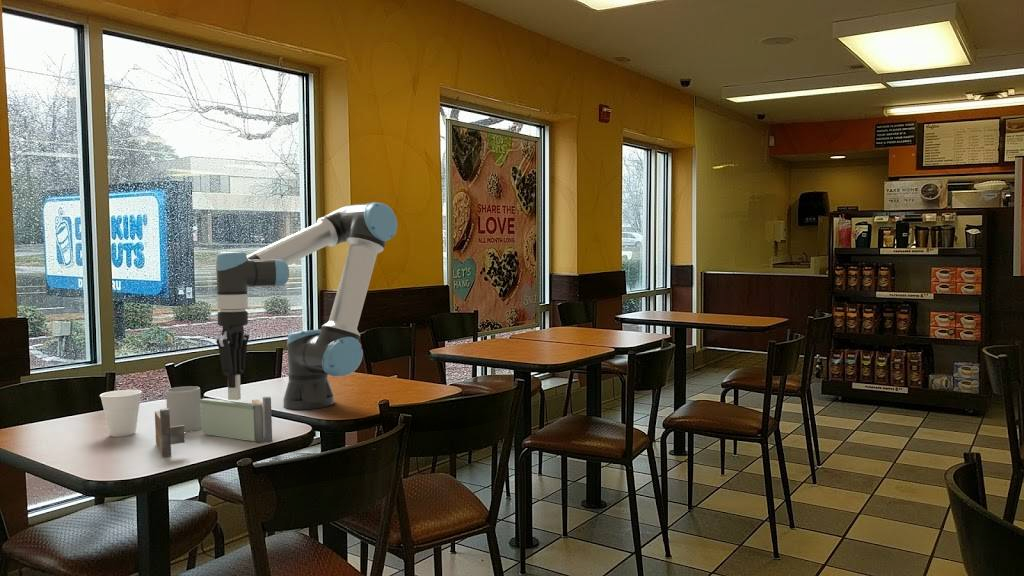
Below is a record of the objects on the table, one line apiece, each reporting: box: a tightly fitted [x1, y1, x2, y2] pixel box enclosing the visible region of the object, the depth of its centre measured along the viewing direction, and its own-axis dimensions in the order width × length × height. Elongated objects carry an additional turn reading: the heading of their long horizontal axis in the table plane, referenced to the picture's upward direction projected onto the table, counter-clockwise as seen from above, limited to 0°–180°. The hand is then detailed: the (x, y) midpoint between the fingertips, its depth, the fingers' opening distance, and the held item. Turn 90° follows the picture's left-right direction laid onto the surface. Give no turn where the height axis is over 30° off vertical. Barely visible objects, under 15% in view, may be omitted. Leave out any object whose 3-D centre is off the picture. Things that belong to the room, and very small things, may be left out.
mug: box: [165, 385, 202, 433], centre depth 204 cm, size 12×8×11 cm
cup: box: [99, 389, 143, 438], centre depth 198 cm, size 10×10×11 cm
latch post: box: [154, 407, 186, 458], centre depth 181 cm, size 5×15×11 cm, turn 32°
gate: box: [200, 398, 264, 443], centre depth 192 cm, size 21×2×9 cm, turn 62°
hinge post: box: [251, 396, 273, 443], centre depth 194 cm, size 2×14×11 cm, turn 32°
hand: (234, 399), depth 199 cm, fingers closed
